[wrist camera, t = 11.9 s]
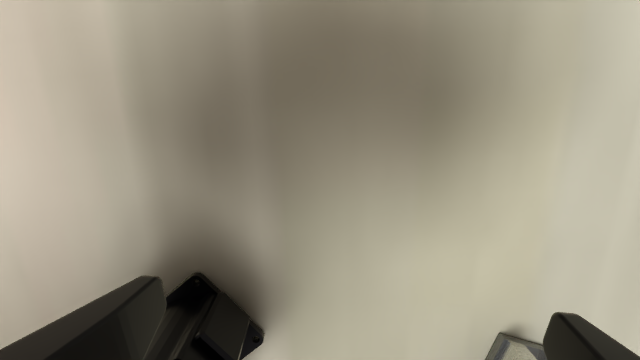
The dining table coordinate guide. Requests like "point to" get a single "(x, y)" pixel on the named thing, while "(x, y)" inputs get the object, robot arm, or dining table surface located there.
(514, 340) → the door track
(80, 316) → the robot arm
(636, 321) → the dining table surface
